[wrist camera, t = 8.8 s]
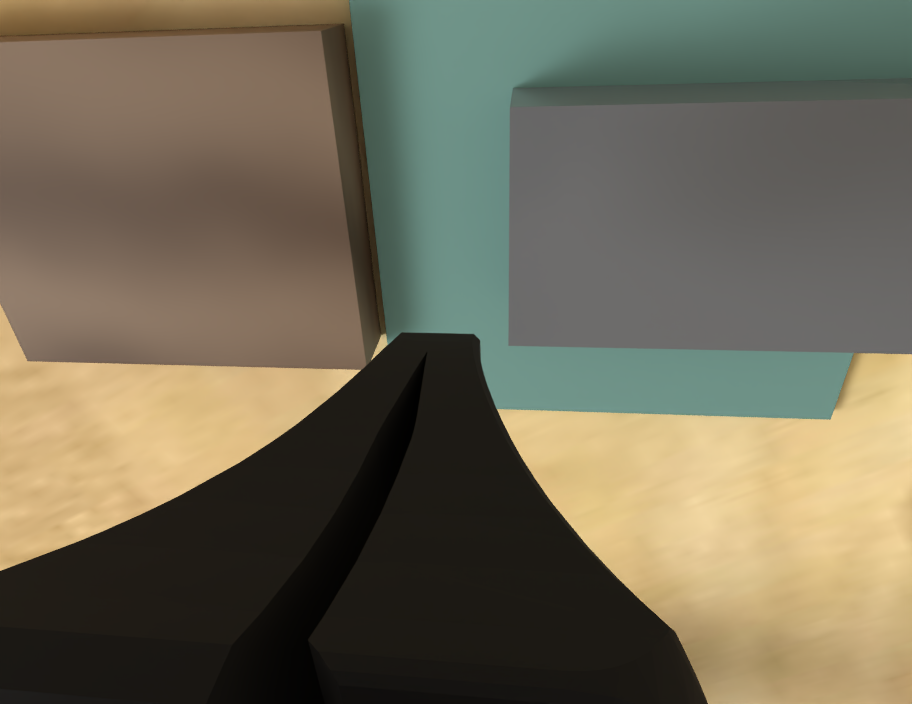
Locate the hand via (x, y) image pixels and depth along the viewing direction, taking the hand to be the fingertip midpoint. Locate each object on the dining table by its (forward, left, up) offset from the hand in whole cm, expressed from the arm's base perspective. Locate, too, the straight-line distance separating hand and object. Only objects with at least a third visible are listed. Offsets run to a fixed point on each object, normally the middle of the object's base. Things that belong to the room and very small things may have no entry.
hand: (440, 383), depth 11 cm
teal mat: (+1, -4, -8) cm, 9 cm away
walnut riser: (+1, +9, -8) cm, 12 cm away
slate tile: (+1, -6, -8) cm, 10 cm away
